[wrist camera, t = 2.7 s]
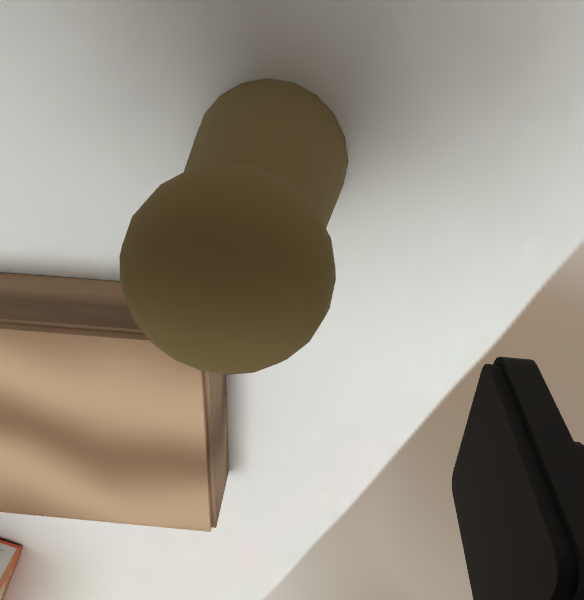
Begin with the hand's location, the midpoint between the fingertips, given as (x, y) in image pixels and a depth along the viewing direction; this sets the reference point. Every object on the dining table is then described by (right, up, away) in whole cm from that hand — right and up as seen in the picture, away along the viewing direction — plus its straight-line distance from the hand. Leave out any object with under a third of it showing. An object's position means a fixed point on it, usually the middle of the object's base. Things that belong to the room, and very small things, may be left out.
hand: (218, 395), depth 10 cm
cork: (+1, +7, +11) cm, 14 cm away
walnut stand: (-8, -2, +18) cm, 20 cm away
